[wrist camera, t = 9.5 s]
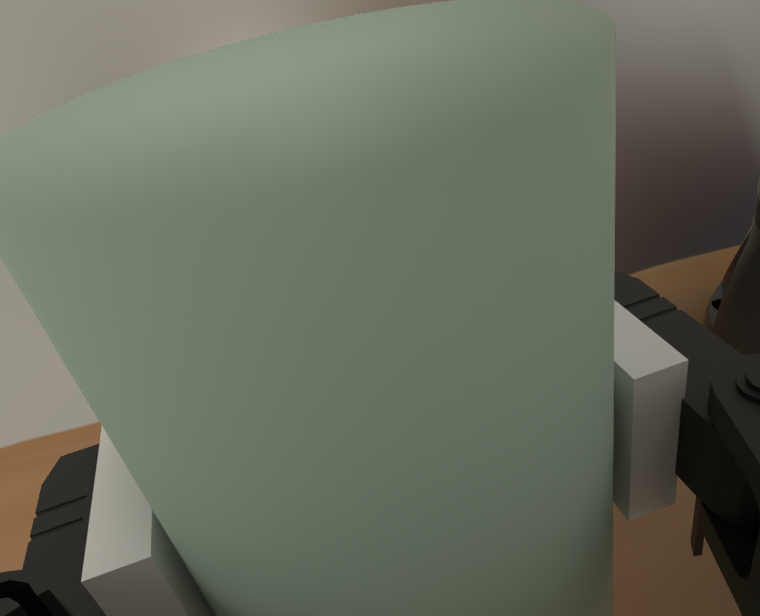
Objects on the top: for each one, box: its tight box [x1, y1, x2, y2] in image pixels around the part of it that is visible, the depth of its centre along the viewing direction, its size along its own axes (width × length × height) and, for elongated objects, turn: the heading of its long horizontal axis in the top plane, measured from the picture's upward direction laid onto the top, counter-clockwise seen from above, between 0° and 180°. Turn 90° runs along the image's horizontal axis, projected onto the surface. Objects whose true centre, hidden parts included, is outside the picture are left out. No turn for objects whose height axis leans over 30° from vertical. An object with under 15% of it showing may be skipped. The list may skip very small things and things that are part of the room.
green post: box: [0, 0, 616, 616], centre depth 9 cm, size 6×6×12 cm
